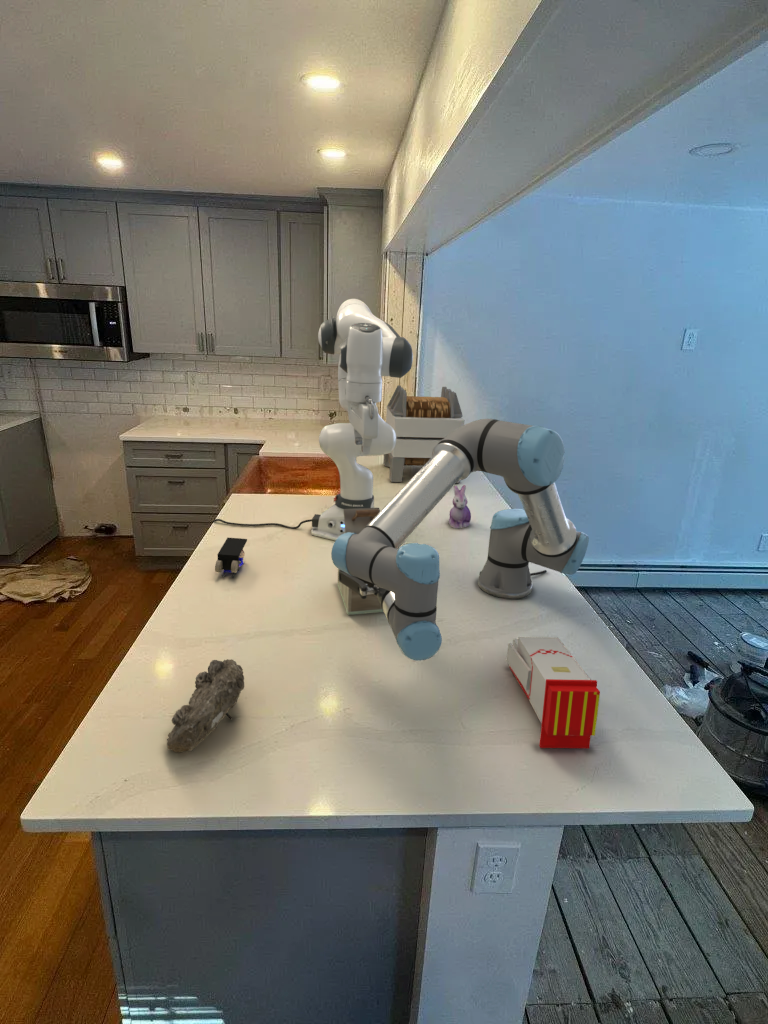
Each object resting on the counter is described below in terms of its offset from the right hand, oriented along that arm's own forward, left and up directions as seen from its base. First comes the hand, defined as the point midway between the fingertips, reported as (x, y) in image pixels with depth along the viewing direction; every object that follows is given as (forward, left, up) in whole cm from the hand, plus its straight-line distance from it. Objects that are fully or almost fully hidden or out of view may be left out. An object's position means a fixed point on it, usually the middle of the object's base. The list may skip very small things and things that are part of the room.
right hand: (376, 557), depth 131 cm
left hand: (0, -21, +21) cm, 29 cm away
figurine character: (+34, -41, -21) cm, 57 cm away
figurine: (-48, -68, -21) cm, 86 cm away
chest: (0, -19, -21) cm, 28 cm away
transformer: (-53, -137, -21) cm, 148 cm away
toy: (-29, +30, -21) cm, 47 cm away
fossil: (+37, +23, -21) cm, 48 cm away
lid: (0, -15, -3) cm, 15 cm away
